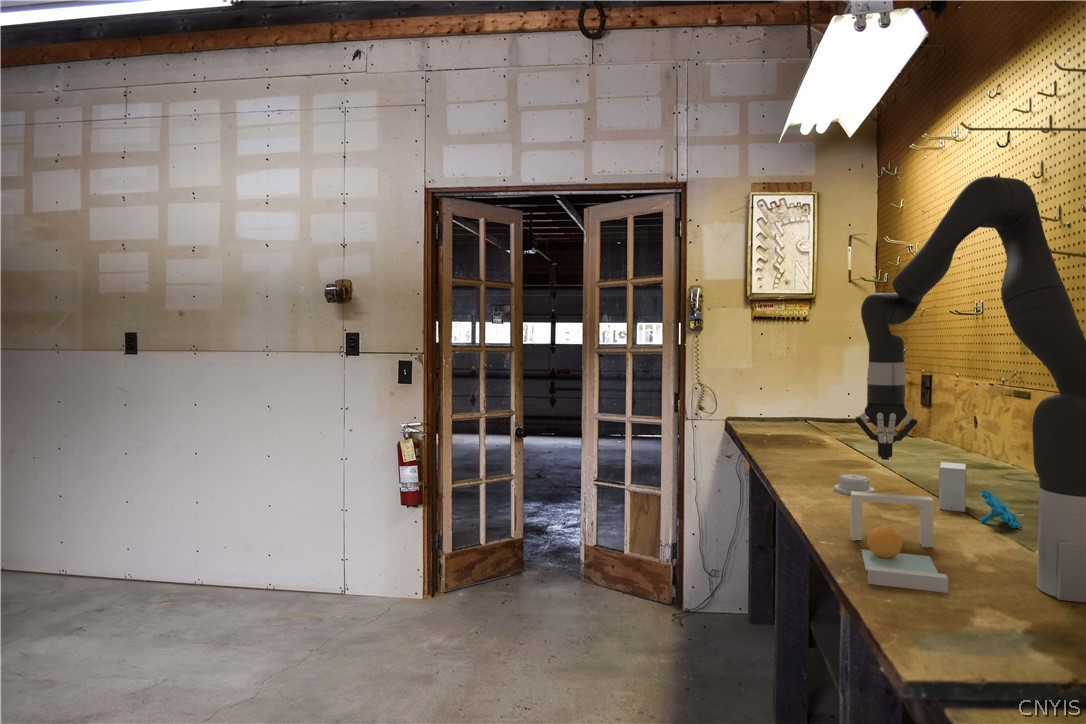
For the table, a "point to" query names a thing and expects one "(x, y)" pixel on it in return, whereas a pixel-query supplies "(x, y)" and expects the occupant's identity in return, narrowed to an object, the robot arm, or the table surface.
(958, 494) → the small box
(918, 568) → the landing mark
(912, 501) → the bridge
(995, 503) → the blue branched figurine
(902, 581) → the stopper wall
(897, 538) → the ball
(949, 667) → the table surface
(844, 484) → the mechanical component
